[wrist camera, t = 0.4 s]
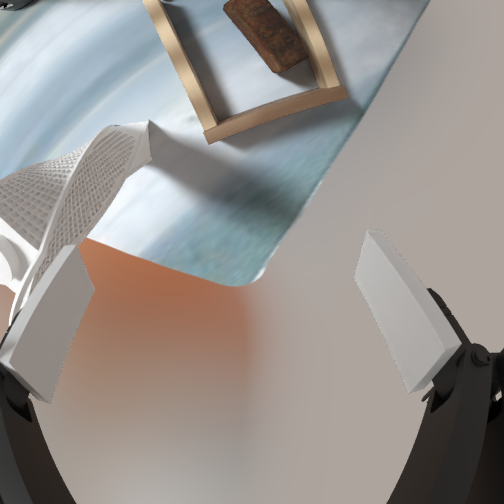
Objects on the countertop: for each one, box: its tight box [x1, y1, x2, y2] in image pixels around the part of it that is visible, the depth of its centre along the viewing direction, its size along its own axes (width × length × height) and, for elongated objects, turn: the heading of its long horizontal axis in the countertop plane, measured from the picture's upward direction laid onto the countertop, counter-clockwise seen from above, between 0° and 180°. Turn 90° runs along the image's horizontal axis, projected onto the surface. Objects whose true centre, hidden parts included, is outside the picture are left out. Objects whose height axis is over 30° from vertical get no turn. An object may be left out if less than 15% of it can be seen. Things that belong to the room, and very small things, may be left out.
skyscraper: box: [0, 120, 153, 326], centre depth 19 cm, size 8×8×28 cm
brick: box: [223, 0, 309, 73], centre depth 22 cm, size 11×4×5 cm, turn 35°
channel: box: [143, 0, 348, 145], centre depth 23 cm, size 20×16×5 cm
